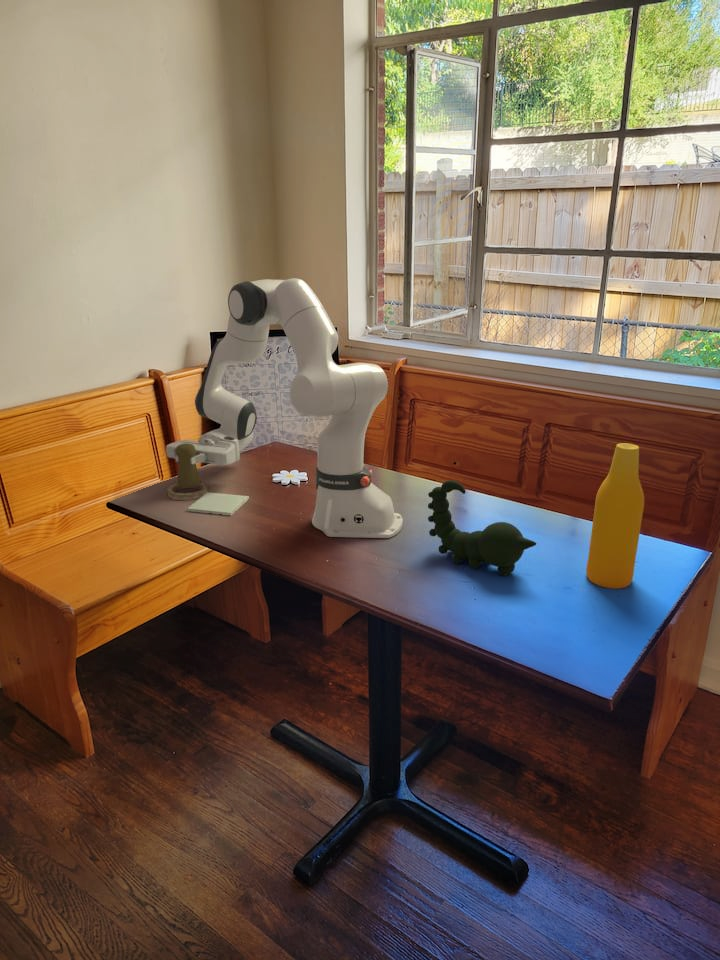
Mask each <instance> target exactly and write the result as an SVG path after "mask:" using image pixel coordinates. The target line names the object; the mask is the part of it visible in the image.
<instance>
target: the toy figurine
mask: <svg viewBox="0 0 720 960" xmlns="http://www.w3.org/2000/svg"><path fill="white" fill-rule="evenodd" d="M455 490H456V491H458V492H460V493H462V495H464V494H466V489H465V488H464V485H463V484H462V483H460V482H459V481H457V480H454V479H449V480H446V481H444V482H442V484H441V486H436V487H434V488H433V489H432V490H431V491H429V492H428V494H427V495H428V497H429V498H431V499H432V501H431V502H429V503H428V505H427V507H428V508H427V509H429V510H432V511H433V512H432V515H429V516H428V517H427V520H428V522H429V523H433V524H434V528H431V529H429V531H428V532H429V533H428V534H429V536H430V537H436V536H437V537H438V538H439V539H440V540H441V541H440V543H441V545H439V546H438V553H440V554H441V555H444V554H447V553H448V551H449V552H451V554H452V555H453V557H452V562H453V563H454V564H457V565H458V564H459V565H460V564H461V563H462V562H463V561H468V564H469V567H470V568H473V569H477V568H480V567H481V565H482V563H485V562H487V563H488V564H489V565H491V566H494V567H497V572H498V573H499V574H500V575H502V576H508V575H509V576H510V574H512V573H513V572H514V571H515V568H516V565H515V564H516V563H517V562H519V561H520V559H521V558H522V556H523V554H524V551H526V550H527V549H529V548H533V547H534V546H536V545H537V542H535V540H531V539H528V538H526V537H524V536H523V534H522V532H521V531H520V530H519V529H518V528H517V527H516V526H515V525H514V524H511V523H509V522H505V521H498V522H493V523H491V524H489V525H487V526H486V527H485V528H484V529H483V530H475V531H472V532H468V531H461V530H460V529H458V528H456V525H455V523H454V522H453V520H452V513H451V511H450V510H449V507H450V501H449V500H448V499H447V497H448V494H449V493H451V492H452V491H455Z"/></svg>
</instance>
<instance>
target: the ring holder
mask: <svg viewBox="0 0 720 960" xmlns="http://www.w3.org/2000/svg"><path fill="white" fill-rule="evenodd" d="M190 488H192V489H199V490H197V491H194V492H187V493H185V492H184V493H180V492H176V491H178V490H182V489H190ZM208 492H209V491H208V487H207V484H206V483H205V482H204V483H203V482H201V481H200V483H199V484H198V485H196V486H192V487H181V486H178V482H176V483H174V484H171V485H170V486H168V487H167V496H168V498H170V499H172V500H178V501H191V500H196V499H197V500H198V499H200V498H201V497H202V496H204V495H205V494H206V493H208Z"/></svg>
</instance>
